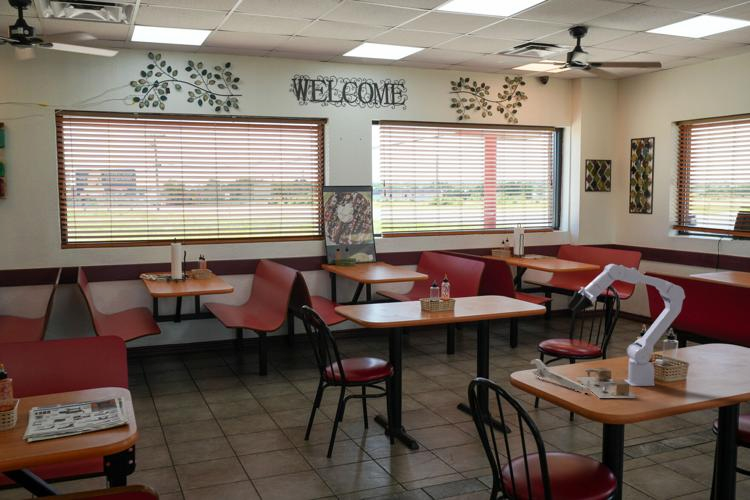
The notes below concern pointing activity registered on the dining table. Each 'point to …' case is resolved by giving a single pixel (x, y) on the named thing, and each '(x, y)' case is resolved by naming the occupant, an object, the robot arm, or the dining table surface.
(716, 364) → the dining table surface
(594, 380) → the gauge plate
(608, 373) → the slider
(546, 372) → the wrench
